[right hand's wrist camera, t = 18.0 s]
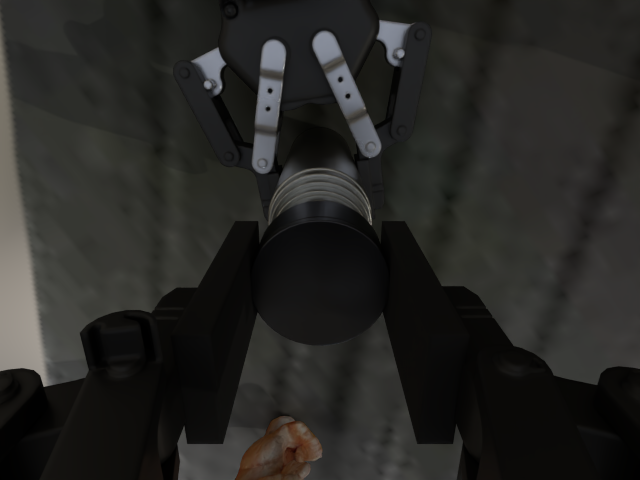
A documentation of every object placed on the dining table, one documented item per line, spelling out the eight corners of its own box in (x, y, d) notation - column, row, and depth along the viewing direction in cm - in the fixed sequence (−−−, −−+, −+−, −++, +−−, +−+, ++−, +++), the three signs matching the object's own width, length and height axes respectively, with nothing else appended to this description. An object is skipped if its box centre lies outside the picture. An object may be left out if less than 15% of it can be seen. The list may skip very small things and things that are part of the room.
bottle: (294, 192, 32) (260, 347, 14) (285, 131, 30) (233, 218, 12) (353, 184, 32) (397, 332, 14) (347, 123, 30) (388, 199, 12)
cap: (390, 206, 14) (402, 227, 12) (371, 317, 15) (379, 351, 13) (261, 193, 13) (252, 213, 12) (255, 306, 15) (246, 339, 13)
